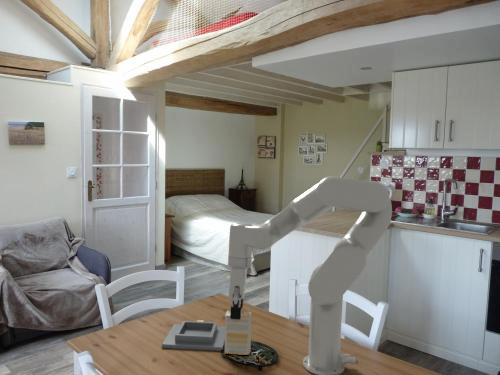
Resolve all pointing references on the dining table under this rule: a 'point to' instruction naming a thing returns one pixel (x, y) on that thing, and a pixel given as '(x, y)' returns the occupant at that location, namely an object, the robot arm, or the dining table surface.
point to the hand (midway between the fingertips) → (236, 313)
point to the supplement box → (238, 334)
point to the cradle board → (196, 336)
